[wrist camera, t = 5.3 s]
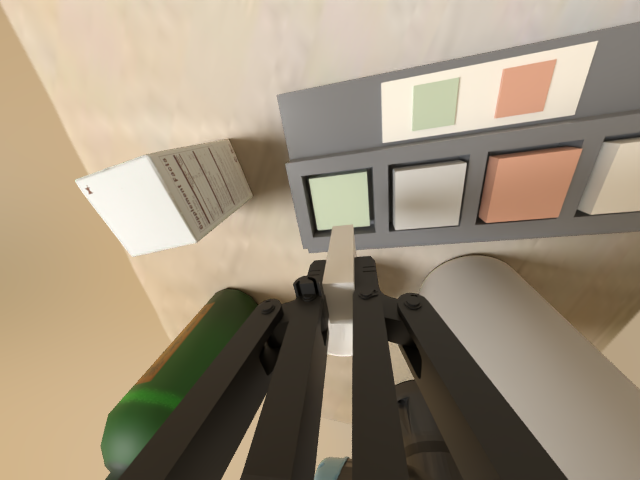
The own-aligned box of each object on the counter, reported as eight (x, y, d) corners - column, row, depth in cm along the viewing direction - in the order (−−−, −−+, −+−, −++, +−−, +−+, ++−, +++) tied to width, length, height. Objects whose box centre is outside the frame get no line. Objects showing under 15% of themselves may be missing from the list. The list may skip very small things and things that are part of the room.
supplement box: (207, 209, 31) (129, 259, 20) (179, 153, 28) (67, 177, 17) (255, 197, 30) (198, 245, 19) (231, 137, 26) (143, 152, 15)
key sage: (368, 220, 27) (369, 225, 25) (319, 224, 28) (317, 230, 27) (365, 168, 24) (366, 171, 23) (311, 175, 25) (308, 179, 24)
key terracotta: (545, 210, 22) (558, 217, 21) (478, 216, 23) (486, 223, 22) (566, 146, 20) (582, 148, 18) (489, 156, 21) (499, 159, 19)
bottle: (197, 284, 38) (-71, 576, 14) (254, 278, 36) (51, 613, 12) (223, 328, 43) (55, 603, 19) (274, 325, 41) (160, 633, 17)
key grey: (451, 218, 24) (458, 225, 23) (392, 223, 25) (395, 230, 24) (459, 159, 21) (466, 162, 20) (392, 168, 22) (395, 171, 21)
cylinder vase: (413, 320, 36) (506, 628, 14) (422, 253, 30) (600, 602, 9) (501, 322, 34) (761, 684, 12) (528, 251, 28) (1107, 697, 7)
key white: (652, 201, 21) (674, 208, 19) (575, 208, 22) (590, 214, 21) (691, 130, 18) (720, 131, 17) (601, 141, 19) (620, 144, 18)
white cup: (352, 247, 31) (352, 297, 23) (378, 287, 34) (388, 345, 25) (306, 269, 34) (290, 322, 25) (334, 304, 37) (328, 363, 28)
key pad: (620, 223, 25) (667, 242, 22) (311, 245, 32) (305, 263, 28) (727, 7, 17) (834, -24, 13) (282, 96, 24) (268, 92, 20)
